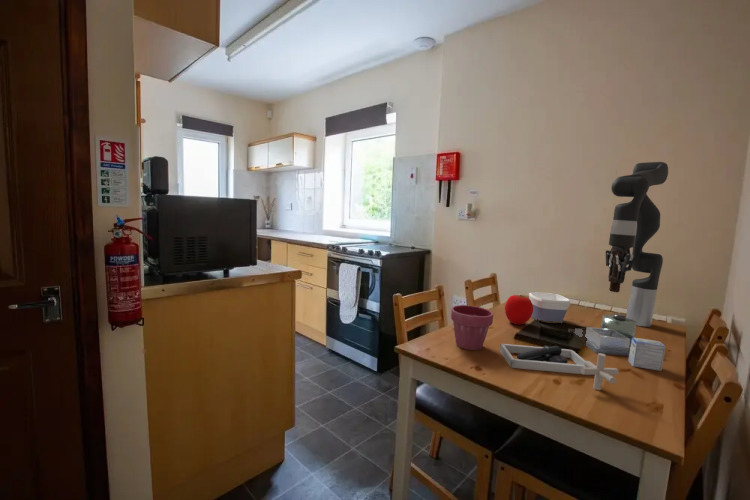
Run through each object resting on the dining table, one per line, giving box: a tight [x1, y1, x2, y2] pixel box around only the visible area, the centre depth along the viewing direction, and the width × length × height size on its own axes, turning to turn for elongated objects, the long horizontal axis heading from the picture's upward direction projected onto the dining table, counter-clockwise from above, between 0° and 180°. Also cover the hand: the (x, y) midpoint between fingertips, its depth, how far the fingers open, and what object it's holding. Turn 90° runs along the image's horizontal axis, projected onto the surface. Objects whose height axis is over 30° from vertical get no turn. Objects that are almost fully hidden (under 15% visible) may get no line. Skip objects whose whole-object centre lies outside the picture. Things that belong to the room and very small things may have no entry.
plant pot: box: [450, 304, 494, 351], centre depth 123 cm, size 14×14×13 cm
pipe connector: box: [580, 353, 619, 391], centre depth 97 cm, size 10×10×10 cm
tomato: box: [504, 294, 533, 326], centre depth 150 cm, size 11×11×13 cm
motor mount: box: [574, 313, 637, 357], centre depth 133 cm, size 22×22×10 cm
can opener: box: [516, 345, 569, 364], centre depth 111 cm, size 18×7×6 cm, turn 106°
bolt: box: [608, 250, 624, 293], centre depth 126 cm, size 6×5×15 cm
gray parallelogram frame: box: [499, 343, 589, 376], centre depth 113 cm, size 13×24×2 cm, turn 85°
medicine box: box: [628, 337, 666, 372], centre depth 114 cm, size 8×4×9 cm, turn 71°
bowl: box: [528, 291, 571, 324], centre depth 158 cm, size 15×15×11 cm
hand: (615, 280), depth 126 cm, fingers closed on bolt, 4 cm apart
